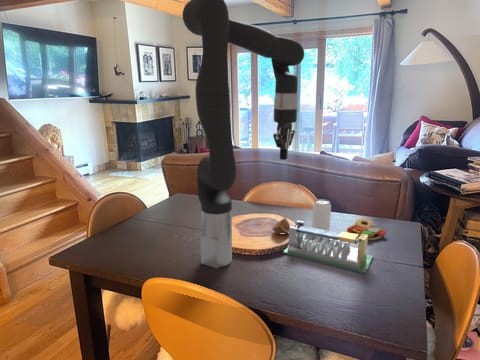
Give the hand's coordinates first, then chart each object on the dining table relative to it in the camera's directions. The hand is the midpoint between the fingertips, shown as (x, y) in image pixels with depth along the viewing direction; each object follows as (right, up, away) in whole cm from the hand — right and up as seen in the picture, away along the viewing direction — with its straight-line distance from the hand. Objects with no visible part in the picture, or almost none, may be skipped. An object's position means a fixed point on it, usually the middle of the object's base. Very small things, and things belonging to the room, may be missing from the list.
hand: (283, 159), depth 121 cm
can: (+15, -27, +13) cm, 33 cm away
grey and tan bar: (+12, -25, -6) cm, 29 cm away
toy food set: (+32, -28, +11) cm, 44 cm away
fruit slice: (+1, -27, +11) cm, 29 cm away
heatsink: (+14, -32, -5) cm, 35 cm away
